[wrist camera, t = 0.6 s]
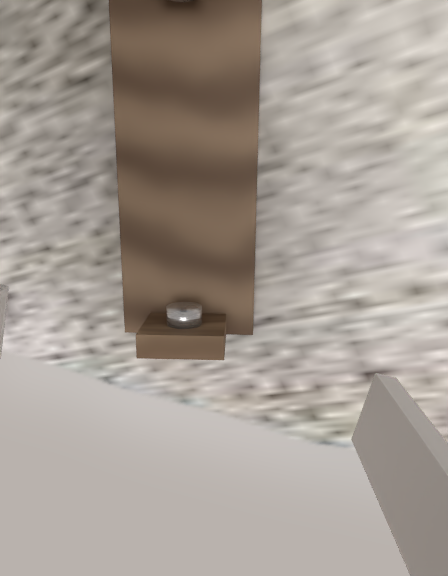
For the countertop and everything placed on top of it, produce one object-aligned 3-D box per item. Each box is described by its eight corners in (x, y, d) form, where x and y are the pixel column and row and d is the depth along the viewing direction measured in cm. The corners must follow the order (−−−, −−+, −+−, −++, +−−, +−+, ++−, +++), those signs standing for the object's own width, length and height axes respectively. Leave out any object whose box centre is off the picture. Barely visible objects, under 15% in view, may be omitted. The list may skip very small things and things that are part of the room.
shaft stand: (112, -32, 34) (78, -90, 27) (261, -33, 34) (268, -92, 27) (129, 327, 41) (105, 357, 34) (252, 329, 41) (255, 360, 34)
